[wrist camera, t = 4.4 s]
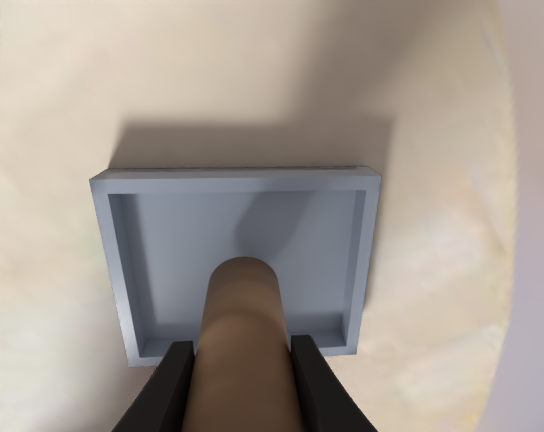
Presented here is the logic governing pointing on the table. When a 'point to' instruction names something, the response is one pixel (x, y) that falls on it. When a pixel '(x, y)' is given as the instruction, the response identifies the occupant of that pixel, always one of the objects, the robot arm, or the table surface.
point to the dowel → (243, 356)
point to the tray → (236, 247)
